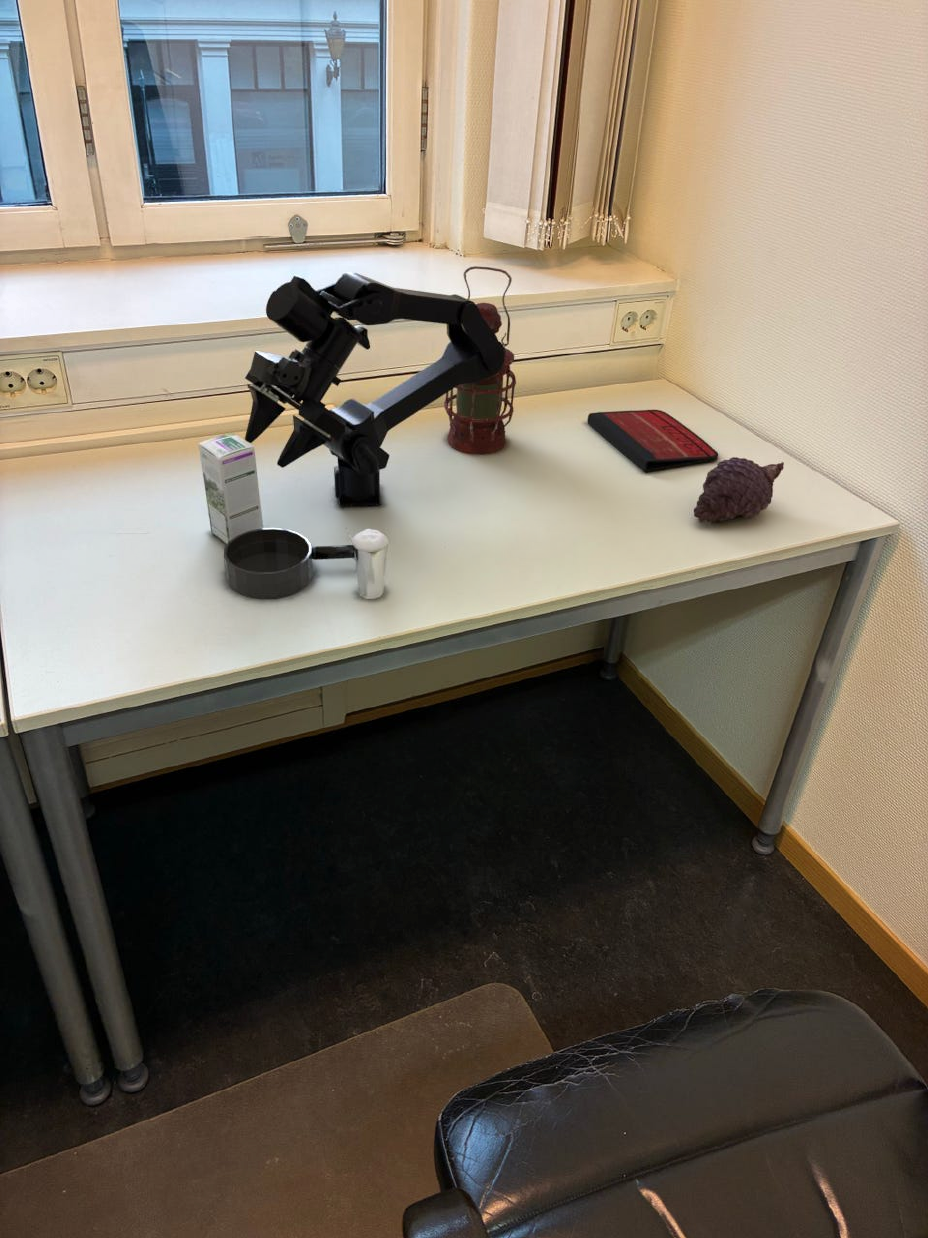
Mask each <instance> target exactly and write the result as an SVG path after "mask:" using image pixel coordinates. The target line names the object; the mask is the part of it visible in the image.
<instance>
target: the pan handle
mask: <svg viewBox="0 0 928 1238" xmlns="http://www.w3.org/2000/svg"><path fill="white" fill-rule="evenodd" d="M342 559H344V560H345V559H355V556H354V549H353V544H344V545H319V546H312V560H313V561H314V560H316V561H317V560H342Z"/></svg>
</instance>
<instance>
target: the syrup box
mask: <svg viewBox="0 0 928 1238" xmlns="http://www.w3.org/2000/svg"><path fill="white" fill-rule="evenodd" d="M198 450H199V456H200V462H201V463H200V464H201V471H202V476H203V477H202V478H203V484H204V492H205V499H206V506H207V512H208V519H209V526H210V533H211V534H212V535H214V536H215V537H216V538H218V539H219V540H220V541H222V542H223V543H224V544H225V545H227V543H228V542H229V541H230V540H232V539H233V538H234V537H236V536H237V535H240V534H242V533H245V532H247V531H251V530H256V529H261V528H264V525H263V516H262V515H263V514H262V506H261V496H260V488H259V478H258V469H257V459H256V450H255V446H253V445H252V444H251V443H249V442H247V441H246V440H245V439H242V438H241V437H240V436H239V435H237V434H235V433H233V432H231V433H227V434H222V435H218V436H214V437H212V438H209V439H206V440H204V441H201V442H198Z"/></svg>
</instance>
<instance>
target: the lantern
mask: <svg viewBox="0 0 928 1238" xmlns="http://www.w3.org/2000/svg"><path fill="white" fill-rule="evenodd" d="M471 270H488V271H493V272H499V273H502V274H504V275H505V276H507V278H508V283H507V286H506V288H505V290H504V292H503V294H502V299H501V302H502V307H503V309H504V312H505V315H506V317H507V328H506V329H507V331H506V332H505V333H504V336H503V337H502V338H501V340H500V342H501V343H502V345H503V346H504V349H505V359H504V363H503V366H502V369H501V370H500V371H499V372H498V373H497V374H496V375H494V376H492V377H490V378H488V379H485V380H483V381H481V382H476V383H469V384H461V385H458V386H456V387H455V388H453V389H452V390H450V394H449V392H447V393H446V394H445V399H444V401H443V407H444V410H445V413H446V414H447V415H448V419H449V426H450V427H449V431H448V434H447V437H446V441H447V443H448V445H449V447H452V448H453V449H455V450H457V451H459V452H462V453H465V454H472V455H489V454H493V453H494V454H495V453H497V452H499V451H501V450H503V449H504V448H505V446H506V444H507V439H506V427H507V426H508V425H509V424H510V423H511V421H512V419H513V415H514V410H515V409H514V406H513V405H514V395H515V388H516V384H517V379H516V375H515V373H514V372H513V371H512V370H511V366H510V365H512V364H513V363H514V361H515V354H514V353H513V351H511V350H510V349H508V348H506V347H507V346H508V345H509V344H510V343H509V342H510V334H511V333H510V331H511V317H510V314H509V312H508V310H507V307H506V305H505V298H506V297H505V296H506V293H507V291H508V290H509V289H510V286H511V284H512V281H513V280H512V279H513V278H512V276H511V275H510V274H509V272H507V271H506V270H504V269H502V268H495V267H491V266H490V267H489V266H476V265H475V266H469V267H468V268H466V269H465V270H464V272H463V280H464V282H465V285H466V288H467V293H468V295H467V299H468V300H470V299H471V290H470V286H469V283H468V281H467V273H469V271H471ZM475 304H476V306H477V307H478V308H479V311H480V313H481V315H482V317H483V319H484V320H485V321H486V323H487V324H488V325H489V327H490V328H491V329H492V331H493V332H494V333H495V335H496V334H498V333H499V332H500V328H501V327H502V325H503V322H502V317H501V314H500V313H499V312H498V308H497V307H496V305H495V304H493V303H489V302H479V303H475ZM505 337H506V343H505V342H504V339H505ZM505 375H506V382H505V386H504V376H505ZM510 379H511V383H510V384H509V381H510ZM454 389H456V393H455V394H454ZM510 389H511V395H510V399H509V396H508V393H509V390H510ZM504 392H505V393H504ZM503 393H504V394H505V395H504V397H503ZM449 395H450V396H449ZM454 400H455V405H456V412H454V410H453V405H454V404H453V403H454ZM502 405H503V410H502ZM507 407H509V410H508V412H507V413H506V411H507ZM501 410H502V412H501ZM505 413H506V414H505ZM507 418H508V420H507V421H506V423H504V419H507Z"/></svg>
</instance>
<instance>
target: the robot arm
mask: <svg viewBox="0 0 928 1238" xmlns="http://www.w3.org/2000/svg"><path fill="white" fill-rule="evenodd" d="M476 304H477V303H475V302H474V301H473V300H470V299H469V300H468V298H466V297H464V296H461V295H459V294H455V293H454V294H451V295H450V294H443V293H437V292H430V291H429V292H428V291H421V290H415V289H407V288H400V287H393V286H390V285H387V284H385V283H382V282H380V281H377V280H375V279H372V278H370V277H367V276H364V275H362V274H359V273H357V272H354V271H349V272H348V271H347V272H344V273H342V275H341V276H340V277H339V278H338V279H337V280H336V281H335V282H333V283H331V284H328V285H326V286H323V287H321V288H319V289H316V290H315V289H314V287H312V285H311V284H310V283H309V281H307V280H306V279H305V278H303V277H301V276H299V275H297V274H294V275H293V277H292V278H291V280H290V281H287V282H285V283H283V284H281V285H280V286H279V287H277V289H276V290H273V291H272V292H271V293H270V295H269V297H268V299H267V302H266V305H265V313H266V317H267V318H268V320H270V321H271V322H273V323H274V324H275V325H276V326H278V327H279V328H280V329H282V330H283V331H285V332H286V333H288V334H289V335H290V336H292V337H293V338H295V339H296V340H297V341H298V342H300V343H306V344H305V346H304V347H303V349H302V350H301V351H299V350H298V349H294V350H292V351H291V352H290V354H289V356H288V357H287V356H282V355H279V354H275V353H270V352H265V351H261V350H255V351H254V352H253V353H254V354H253V358H252V362H251V364H250V365H251V366H250V369H249V371H248V372H247V374H246V375H245V377H244V379H245V380H246V381H248V382H249V383H251V384H249V383H247V385H246V386H247V389H248V390H249V393H250V395H251V399H252V404H251V405H252V406H251V411H250V415H249V419H248V424H247V427H246V432H245V436H244V441H246V442H247V443H249V444H252V443H254V442H255V441H256V440H257V439H259V437H260V436H261V435H262V434H263V433H264V432H265V431H266V430H267V429H268V428H269V427H270V426H271V425H272V424H273V423H274V422H275V421H276V420H277V419H278V418H279V417H280V415H282V414H283V413H284V412H285V410H287V408H286V407H284V406H283V405H285V404H288V405H290V406H291V407H292V408H293V409H296V410H297V411H298V416H299V417H297V416H296V415H295V414H293V415H292V422H293V423H292V424H293V430H292V432H291V434H290V436H289V438H288V440H287V442H286V444H285V445H284V447H283V449H282V451H281V453H280V454H279V457H278V460H277V462H276V465H277V466H278V467H280V468H282V469H284V468H285V467H287V466H289V465H291V464H292V463H294V462H295V461H297V460H298V459H300V458H301V457H303V456H305V455H306V454H308V453H309V452H312V451H313V450H315V449H318V448H319V447H321V446H324V447H326V448H327V449H328V450H329V452H330V454H331V455H332V456H335V457H336V458H337V466H334V467H333V479H334V481H333V483H334V497H335V498H336V499H338V506H339V507H366V506H367V507H370V506H372V507H373V506H381V505H382V498H381V491H380V489H381V487H380V485H381V484H380V483H381V481H380V478H381V475H380V473H381V471H380V470H383V469H386V468H387V466H388V463H389V460H390V454H389V453H388V452H387V451H386V450H384V449H383V448H381V447H382V445H383V443H384V440H385V439H386V436H387V434H388V432H390V430H392V429H394V428H395V427H396V426H398V425H400V424H401V423H403V422H404V421H406V420H407V419H409V418H410V417H412V416H414V415H415V414H417V413H418V412H419V411H421V410H422V409H425V408H426V407H427V406H429V405H430V404H432V403H433V402H435V401H436V400H438V399H440V398H442V396H445V395H446V393H447V392H448V393H449V392H451V390H452V389H453V390H454V389H456V388H455V387H456V386H458V385H461V384H469V383H476V382H481V381H483V380H485V379H488V378H490V377H492V376H494V375H496V374H497V373H498V372H499V371H500V370H501V369H502V366H503V363H504V359H505V349H504V345H503V344H502V342H501V341H499V338H498V336H497V335H496V334H495V333H494V332H493V331H492V329H491V328H490V327H489V325H488V324H487V323H486V321H485V320H484V319H483V317H482V315H481V313H480V311H479V308H478V307H477V306H476ZM333 314H335V315H337V317H334V318H333V317H332V315H333ZM397 320H407V321H416V322H425V323H434V324H443V325H446V336H447V337H448V339H449V342H448V343H447V345H446V347H445V349H444V351H443V352H442V355H441V357H440V358H439V359H438V360H436V361H435V362H433V363H431V364H430V365H428V366H426V367H425V368H423V369H421V371H418V372H417V373H415V374H414V375H412V376H410V378H408V379H406V380H404V381H403V382H401V383H400V384H399V385H397V386H395V387H394V388H392V389H390V390H388V391H387V392H385V393H384V394H382V395H381V396H379V397H378V398H376V399H375V400H373V401H371V402H369V403H364V404H363V403H361V402H360V401H358V400H356V399H354V398H353V397H352V398H349V399H347V400H345V402H343V403H342V404H341V405H339V406H337V407H336V408H331V409H328V408H326V406H327V405H326V404H325V403H323V402H322V400H323V398H324V397H325V395H326V394H327V393H328V391H329V389H330V388H331V386H332V385H335V386H336V387H339V385H340V384H341V382H342V379H341V378H340V377H338V374H339V373H340V371H341V370H342V368H343V366H344V365H345V363H346V362H347V360H348V358H349V357H350V355H351V354H352V352H353V351H354V350H355V347H356V345H357V346H358V347H359V346H360V347H361V348H363V349H365V350H368V351H369V350H371V342H370V339H369V333H368V332H369V331H368V328H365V327H364V326H377V325H386V324H389V323H391V322H393V321H397ZM349 321H356V322H358V323H360V324H362V325H364V326H361V325H359V324H358V325H355V326H354V325H353V324H352V323H351V322H349ZM279 402H281V403H282V404H283V405H281V404H280V403H279ZM300 417H301V418H302V419H303V420H302V419H301V418H300Z"/></svg>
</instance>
